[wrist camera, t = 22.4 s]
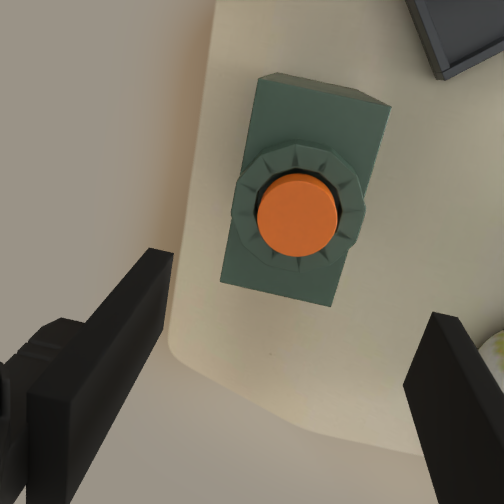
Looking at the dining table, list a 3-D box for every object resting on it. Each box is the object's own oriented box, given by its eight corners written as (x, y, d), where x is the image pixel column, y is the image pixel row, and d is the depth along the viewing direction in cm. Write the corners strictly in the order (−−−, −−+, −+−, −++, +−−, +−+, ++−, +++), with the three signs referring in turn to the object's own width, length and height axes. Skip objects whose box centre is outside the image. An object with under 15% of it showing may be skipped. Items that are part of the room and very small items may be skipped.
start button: (268, 165, 24) (266, 172, 22) (344, 182, 24) (347, 190, 22) (253, 236, 26) (250, 247, 24) (324, 252, 25) (325, 264, 24)
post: (276, 72, 39) (254, 79, 22) (358, 90, 38) (398, 110, 22) (249, 206, 43) (214, 295, 27) (322, 223, 43) (332, 322, 27)
